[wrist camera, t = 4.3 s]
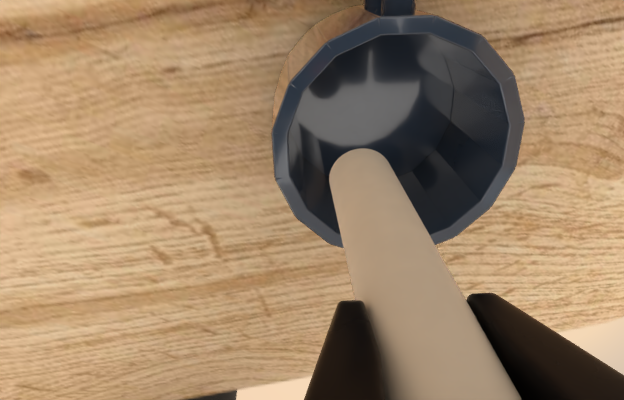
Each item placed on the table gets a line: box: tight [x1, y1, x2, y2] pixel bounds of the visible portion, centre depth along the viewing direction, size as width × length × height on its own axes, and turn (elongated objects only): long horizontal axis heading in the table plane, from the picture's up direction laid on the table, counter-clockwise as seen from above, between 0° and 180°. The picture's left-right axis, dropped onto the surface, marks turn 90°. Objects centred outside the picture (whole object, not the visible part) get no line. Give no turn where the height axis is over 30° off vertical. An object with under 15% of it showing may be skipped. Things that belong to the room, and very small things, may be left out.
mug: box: [271, 0, 525, 248], centre depth 16 cm, size 11×8×6 cm
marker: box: [329, 148, 522, 400], centre depth 8 cm, size 2×2×11 cm
